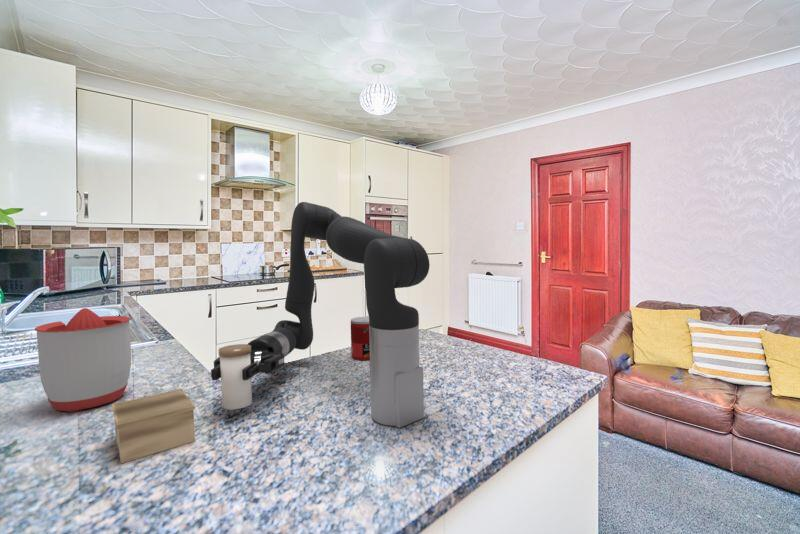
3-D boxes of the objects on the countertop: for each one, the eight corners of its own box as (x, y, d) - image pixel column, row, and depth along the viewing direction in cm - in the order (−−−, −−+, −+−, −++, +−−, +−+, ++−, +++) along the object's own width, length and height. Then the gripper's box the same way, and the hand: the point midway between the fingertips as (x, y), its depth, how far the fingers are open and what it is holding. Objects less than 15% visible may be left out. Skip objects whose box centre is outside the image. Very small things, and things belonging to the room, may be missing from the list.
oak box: (196, 441, 64) (194, 405, 64) (119, 464, 57) (117, 425, 57) (183, 420, 72) (181, 388, 72) (114, 438, 65) (112, 404, 65)
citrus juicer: (120, 381, 94) (115, 300, 93) (145, 398, 83) (140, 306, 82) (32, 402, 82) (25, 309, 81) (48, 425, 71) (40, 317, 70)
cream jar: (257, 403, 74) (255, 347, 74) (226, 412, 71) (223, 353, 70) (247, 395, 79) (245, 342, 78) (217, 403, 75) (214, 347, 75)
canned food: (366, 362, 106) (365, 322, 105) (345, 357, 111) (344, 319, 110) (383, 355, 112) (383, 318, 112) (363, 351, 117) (362, 315, 116)
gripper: (237, 334, 89) (191, 355, 72) (297, 334, 88) (265, 355, 71) (238, 366, 89) (193, 394, 73) (298, 366, 88) (266, 395, 71)
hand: (229, 375), depth 72 cm, fingers closed on cream jar, 5 cm apart
